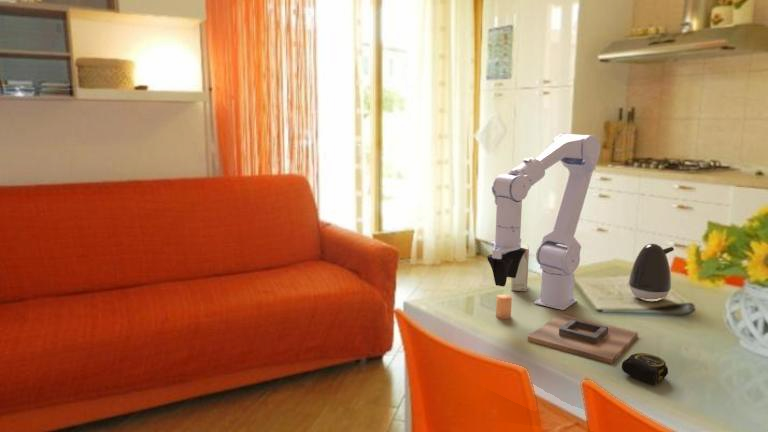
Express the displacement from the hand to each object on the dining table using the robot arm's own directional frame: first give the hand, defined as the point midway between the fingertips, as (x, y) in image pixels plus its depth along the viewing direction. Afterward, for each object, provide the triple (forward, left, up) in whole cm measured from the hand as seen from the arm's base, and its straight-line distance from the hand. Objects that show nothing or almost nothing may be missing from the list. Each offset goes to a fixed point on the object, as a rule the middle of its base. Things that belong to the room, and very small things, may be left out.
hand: (505, 281), depth 135 cm
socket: (0, +19, -9) cm, 21 cm away
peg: (-1, -1, -9) cm, 10 cm away
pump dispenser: (-38, +23, -10) cm, 46 cm away
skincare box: (-24, -8, -10) cm, 27 cm away
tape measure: (+11, +35, -10) cm, 38 cm away
